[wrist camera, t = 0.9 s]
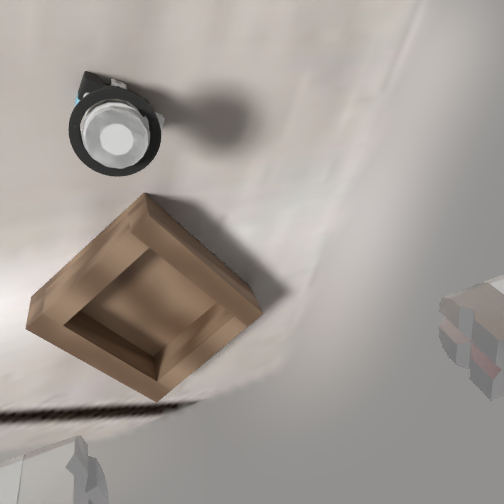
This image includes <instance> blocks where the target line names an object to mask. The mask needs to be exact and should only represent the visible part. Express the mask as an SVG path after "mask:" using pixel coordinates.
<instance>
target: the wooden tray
mask: <svg viewBox="0 0 504 504" xmlns="http://www.w3.org/2000/svg"><path fill="white" fill-rule="evenodd" d="M262 314H263V312H262V310H261V308H260V306H259V304H258V302H257V300H256V298H255V296H254V294H253V292H252V290H251V287H250V286H249V285H247V284H246V283H245V282H244V281H243V280H242V279H241V278H240V277H238V276H237V275H236V274H235V273H234V272H233V271H232V270H231V269H229V268H228V267H227V266H226V265H225V264H224V263H223V262H222V261H220V260H219V259H218V258H217V257H216V256H215V255H214V254H213V253H211V252H210V251H209V250H208V249H207V248H206V247H205V246H204V245H202V244H201V243H200V242H199V241H198V240H197V239H196V238H195V237H193V236H192V235H191V234H190V233H189V232H188V231H187V230H186V229H184V228H183V227H182V226H181V225H180V224H179V223H178V222H177V221H175V220H174V219H173V218H172V217H171V216H170V215H169V214H167V213H166V212H165V211H164V210H163V209H162V208H161V207H160V206H158V205H157V204H156V203H155V202H154V201H153V200H152V199H151V198H149V197H148V196H147V195H146V194H145V193H143V194H142V195H141V196H140V197H139V198H138V199H137V200H136V201H135V202H134V203H132V204H131V205H130V206H129V207H128V208H127V209H126V210H125V211H124V212H123V213H122V214H121V215H119V216H118V217H117V218H116V219H115V220H114V221H113V222H112V223H111V224H110V225H109V226H108V227H106V228H105V229H104V230H103V231H102V232H101V233H100V234H99V235H98V236H97V237H96V238H95V239H93V240H92V241H91V242H90V243H89V244H88V245H87V246H86V247H85V248H84V249H83V250H82V251H81V252H79V253H78V254H77V255H76V256H75V257H74V258H73V259H72V260H71V261H70V262H69V263H68V264H66V265H65V266H64V267H63V268H62V269H61V270H60V271H59V272H58V273H57V274H56V275H55V276H53V277H52V278H51V279H50V280H49V281H48V282H47V283H46V284H45V285H44V286H43V287H42V288H40V289H39V290H38V291H37V292H36V293H35V294H34V295H33V296H32V297H31V302H30V307H29V313H28V318H27V324H26V329H27V330H28V331H30V332H32V333H34V334H36V335H37V336H39V337H41V338H43V339H44V340H46V341H48V342H50V343H52V344H53V345H55V346H57V347H59V348H61V349H62V350H64V351H66V352H68V353H69V354H71V355H73V356H75V357H77V358H78V359H80V360H82V361H84V362H86V363H87V364H89V365H91V366H93V367H94V368H96V369H98V370H100V371H102V372H103V373H105V374H107V375H109V376H111V377H112V378H114V379H116V380H118V381H119V382H121V383H123V384H125V385H127V386H128V387H130V388H132V389H134V390H136V391H137V392H139V393H141V394H143V395H144V396H146V397H148V398H150V399H152V400H153V401H155V402H158V401H159V400H160V399H161V398H163V397H164V396H165V395H166V394H167V393H169V392H170V391H171V390H172V389H173V388H175V387H176V386H177V385H178V384H179V383H181V382H182V381H183V380H184V379H185V378H187V377H188V376H189V375H190V374H191V373H193V372H194V371H195V370H196V369H197V368H199V367H200V366H201V365H202V364H204V363H205V362H206V361H207V360H208V359H210V358H211V357H212V356H213V355H214V354H216V353H217V352H218V351H219V350H220V349H222V348H223V347H224V346H225V345H226V344H228V343H229V342H230V341H231V340H232V339H234V338H235V337H236V336H237V335H238V334H240V333H241V332H242V331H243V330H244V329H246V328H247V327H248V326H249V325H250V324H252V323H253V322H254V321H255V320H256V319H258V318H259V317H260V316H261V315H262Z"/></svg>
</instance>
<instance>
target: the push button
mask: <svg viewBox="0 0 504 504" xmlns="http://www.w3.org/2000/svg"><path fill="white" fill-rule="evenodd" d="M111 82H112V83H111V86H107V85H105V84H104V83H102V81H101V80H100V78H99V77H98V76H96V75H94V74H92V73H90V72H87V71H85V72H84V75H83V78H82V81H81V84H80V88H79V91H78V94H77V97H76V103H75V105H76V106H75V108H74V110H73V112H72V114H71V117H70V121H69V138H70V142H71V145H72V148H73V150H74V152H75V153H76V155H77V156H78V157H79V159H80V160H81V161H82V162H83V163H84V164H85V165H87V166H88V167H89V168H91V169H92V170H94V171H96V172H98V173H101V174H104V175H108V176H127V175H131V174H134V173H136V172H138V171H140V170H142V169H144V168H145V167H146V166H147V165H149V163H150V162H151V161H152V160H153V159H154V157H155V156H156V154H157V152H158V150H159V147H160V142H161V128H162V127H163V124H164V122H165V119H164V116H163V115H161V114H159V113H156V112H154V110H153V108H152V107H151V106H150V105H149V102H148V100H146V99H145V98H142V97H141V96H139V95H137V94H136V93H134V92H132V91H129V90H126V89H127V88H126V84H124V83H122V82H119V81H117V80H115V79H112V78H111ZM84 114H85V120H84V122H83V126H82V130H80V123H81V120H82V118H83V116H84ZM148 123H149V128H148Z"/></svg>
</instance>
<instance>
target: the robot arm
mask: <svg viewBox="0 0 504 504" xmlns="http://www.w3.org/2000/svg"><path fill="white" fill-rule="evenodd" d="M440 312H441V313H442V314H443V315H444V316H445V318H444V319H443V321H442V322H441V324H440V325H439V338H440V341H441V344H442V347H443V349H444V350H445V352H446V353H447V355H448V357H449V358H450V359H451V360H452V361H453V362H454V363H455V364H456V365H458V366H461V367H464V368H467V369H469V379H470V380H471V381H472V382H473V383H474V384H475V385H476V386H477V387H478V388H479V389H480V390H481V391H482V392H483V393H484V394H485V395H486V396H487V398H488V399H490V401H492V400H494V399H497V398H499V397H502V396H504V275H500V276H498V277H495V278H492V279H490V280H487V281H485V282H482V283H479V284H476V285H474V286H471V287H469V288H466V289H464V290H461V291H458V292H456V293H453V294H451V295H448V296H446V297H443V299H442V300H441V302H440ZM0 504H109V501H108V489H107V484H106V480H105V475H104V473H103V470H102V468H101V465H100V464H99V462H98V461H97V459H96V458H93V457H90V456H88V445H87V443H86V442H85V441H84V439H83V438H82V436H75V437H72V438H69V439H66V440H63V441H61V442H58V443H55V444H52V445H49V446H46V447H43V448H41V449H38V450H35V451H32V452H29V453H27V454H25V455H22V456H19V457H16V458H14V459H10V460H8V461H5V462H2V463H0Z"/></svg>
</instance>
